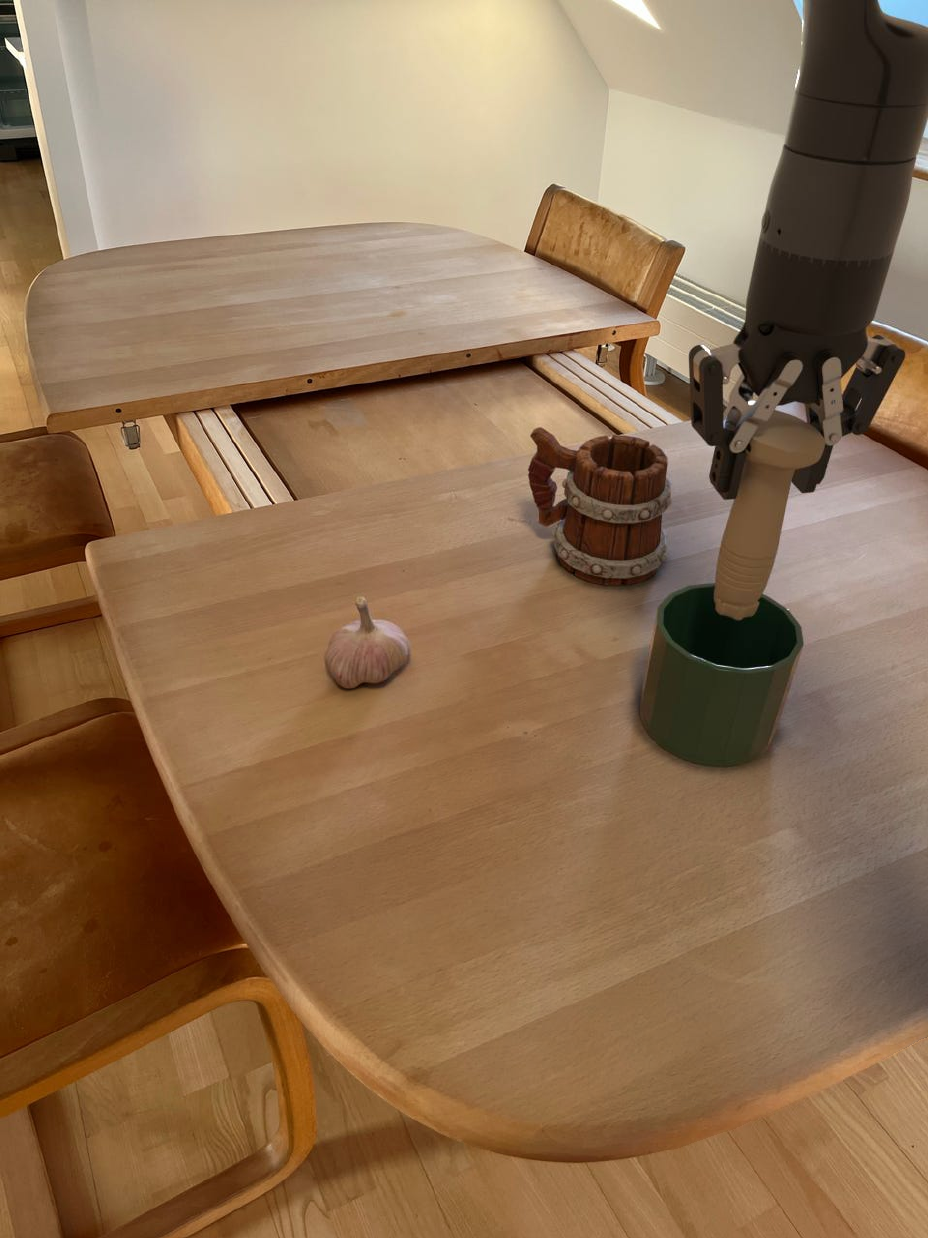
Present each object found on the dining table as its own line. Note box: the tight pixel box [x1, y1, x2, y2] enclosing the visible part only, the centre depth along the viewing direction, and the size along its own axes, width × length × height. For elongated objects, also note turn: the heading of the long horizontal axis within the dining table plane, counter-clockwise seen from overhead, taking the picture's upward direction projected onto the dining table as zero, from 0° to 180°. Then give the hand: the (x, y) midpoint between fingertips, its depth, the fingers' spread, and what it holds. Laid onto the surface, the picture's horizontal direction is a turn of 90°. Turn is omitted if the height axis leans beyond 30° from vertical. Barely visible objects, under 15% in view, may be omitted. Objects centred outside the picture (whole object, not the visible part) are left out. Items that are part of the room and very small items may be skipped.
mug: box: [527, 426, 673, 587], centre depth 93 cm, size 12×14×15 cm
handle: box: [714, 409, 826, 620], centre depth 66 cm, size 5×6×15 cm
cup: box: [639, 582, 805, 768], centre depth 75 cm, size 11×11×10 cm
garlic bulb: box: [324, 596, 412, 689], centre depth 80 cm, size 8×7×8 cm
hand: (763, 489), depth 65 cm, fingers closed on handle, 5 cm apart
